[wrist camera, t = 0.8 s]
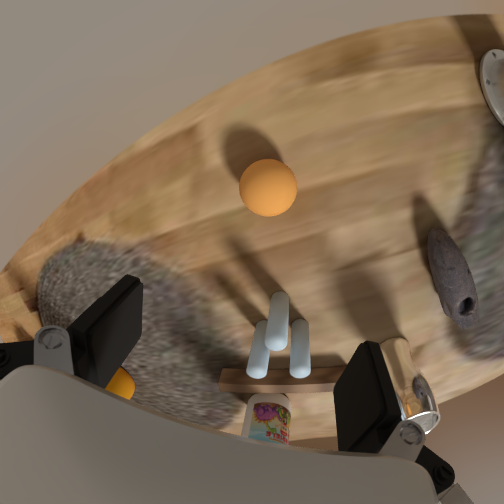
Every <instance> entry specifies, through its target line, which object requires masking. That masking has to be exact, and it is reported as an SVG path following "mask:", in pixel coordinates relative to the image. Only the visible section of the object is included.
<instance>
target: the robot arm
mask: <svg viewBox="0 0 504 504" xmlns="http://www.w3.org/2000/svg"><path fill="white" fill-rule="evenodd" d="M479 71H480V82H481V86H482V90H483V93H484V96H485V99H486V101H487V103H488V105H489V108H490V109H491V111H492V113H493V114H494V116H495V117H496V119H497V120H498V121H499V122H500V123H501V124H502V125H503V126H504V51H503V50H500V49H493V50H490V51H488V52H486V53H485V54H484V55H483V57H482V59H481V61H480V68H479ZM142 303H143V283H141V282H140V279H139V278H137V277H134V276H131V275H129V274H127V275H125V276H124V277H123V278H122V279H121V280H119V281H118V282H117V283H116V284H115V285H114V286H113V287H112V288H111V289H110V290H108V291H107V292H106V293H105V294H104V295H103V296H102V297H100V298H98V299H97V300H96V301H95V302H94V303H93V304H92V305H91V306H90V307H89V308H88V309H87V310H85V311H84V312H83V313H82V314H81V315H80V316H79V317H78V318H77V319H76V320H75V321H74V322H73V323H72V324H71V325H70V326H69V327H68V328H67V329H66V330H65V329H64V328H62V327H60V326H56V325H50V326H45V327H43V328H41V329H40V330H39V331H37V333H36V334H35V338H34V340H32V341H22V342H12V343H0V504H474V503H473V502H472V501H471V499H470V498H469V497H468V496H467V494H466V493H465V492H464V490H463V489H462V488H461V486H460V485H459V484H458V483H456V484H454V479H455V474H454V470H453V468H452V467H451V466H450V465H449V464H448V463H447V462H446V461H444V460H443V459H441V458H440V457H439V456H438V455H436V454H435V453H434V452H432V451H431V450H430V449H428V448H427V447H426V446H424V442H425V433H424V430H423V429H422V428H421V426H420V425H419V424H417V423H416V422H414V421H411V420H403V421H402V417H401V416H402V413H401V409H400V406H399V403H398V399H397V396H396V393H395V390H394V386H393V383H392V380H391V377H390V374H389V371H388V368H387V365H386V362H385V359H384V356H383V354H382V351H381V348H380V345H379V343H376V342H371V341H365V342H364V343H361V344H360V345H359V346H358V348H357V350H356V351H355V353H354V355H353V356H352V358H351V360H350V361H349V363H348V365H347V366H346V368H345V369H344V371H343V373H342V374H341V376H340V377H339V379H338V380H337V382H336V384H335V386H334V389H333V394H334V404H335V414H336V425H337V437H338V450H339V451H332V450H322V449H312V448H304V447H297V446H290V445H284V444H278V443H272V442H267V441H261V440H256V439H252V438H247V437H243V436H238V435H234V434H230V433H226V432H222V431H218V430H215V429H211V428H207V427H204V426H201V425H197V424H194V423H191V422H188V421H185V420H181V419H178V418H175V417H173V416H170V415H167V414H164V413H161V412H159V411H156V410H153V409H151V408H148V407H146V406H143V405H141V404H138V403H136V402H133V401H131V400H129V399H126V398H124V397H121V396H119V395H117V394H114V393H112V392H110V391H108V390H106V389H105V388H106V387H107V385H108V384H109V382H110V381H111V379H112V378H113V376H114V375H115V373H116V372H117V370H118V369H119V367H120V366H121V365H122V363H123V362H124V360H125V359H126V357H127V356H128V354H129V353H130V352H131V350H132V349H133V347H134V346H135V344H136V343H137V342H138V340H139V339H140V337H141V333H142Z"/></svg>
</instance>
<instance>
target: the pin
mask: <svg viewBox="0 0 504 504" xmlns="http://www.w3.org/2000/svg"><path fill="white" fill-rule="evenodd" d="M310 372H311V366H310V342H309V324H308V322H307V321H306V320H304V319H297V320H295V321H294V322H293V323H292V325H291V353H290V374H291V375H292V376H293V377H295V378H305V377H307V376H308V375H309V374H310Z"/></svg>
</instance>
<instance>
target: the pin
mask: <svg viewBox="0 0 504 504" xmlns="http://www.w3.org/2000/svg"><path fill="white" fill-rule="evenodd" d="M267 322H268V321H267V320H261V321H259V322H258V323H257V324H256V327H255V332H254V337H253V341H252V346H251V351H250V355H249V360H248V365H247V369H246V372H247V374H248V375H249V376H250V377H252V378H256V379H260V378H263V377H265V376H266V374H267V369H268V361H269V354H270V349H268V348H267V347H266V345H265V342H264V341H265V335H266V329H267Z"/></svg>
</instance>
